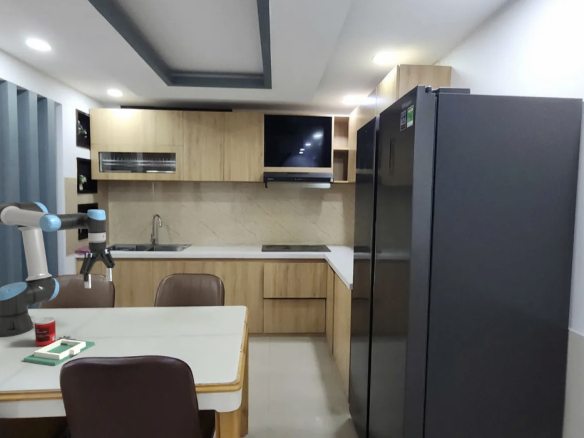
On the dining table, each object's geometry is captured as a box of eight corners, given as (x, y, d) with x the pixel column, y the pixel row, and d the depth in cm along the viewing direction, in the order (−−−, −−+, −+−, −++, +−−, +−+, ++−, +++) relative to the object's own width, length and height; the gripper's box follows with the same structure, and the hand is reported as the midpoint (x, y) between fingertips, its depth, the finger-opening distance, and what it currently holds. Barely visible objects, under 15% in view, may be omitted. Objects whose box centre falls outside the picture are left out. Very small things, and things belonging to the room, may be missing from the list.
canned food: (52, 338, 164) (51, 315, 163) (58, 342, 159) (57, 319, 158) (33, 343, 158) (32, 320, 157) (38, 348, 153) (37, 324, 152)
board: (23, 361, 141) (23, 353, 141) (66, 341, 161) (65, 334, 160) (58, 366, 137) (57, 358, 137) (97, 345, 157) (97, 338, 156)
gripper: (83, 245, 154) (85, 291, 156) (121, 238, 179) (122, 278, 180) (69, 244, 156) (71, 290, 158) (109, 237, 180) (110, 277, 182)
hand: (98, 284), depth 169 cm, fingers open, 13 cm apart
